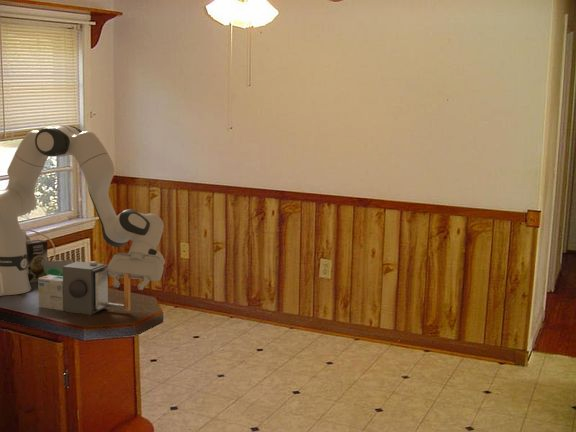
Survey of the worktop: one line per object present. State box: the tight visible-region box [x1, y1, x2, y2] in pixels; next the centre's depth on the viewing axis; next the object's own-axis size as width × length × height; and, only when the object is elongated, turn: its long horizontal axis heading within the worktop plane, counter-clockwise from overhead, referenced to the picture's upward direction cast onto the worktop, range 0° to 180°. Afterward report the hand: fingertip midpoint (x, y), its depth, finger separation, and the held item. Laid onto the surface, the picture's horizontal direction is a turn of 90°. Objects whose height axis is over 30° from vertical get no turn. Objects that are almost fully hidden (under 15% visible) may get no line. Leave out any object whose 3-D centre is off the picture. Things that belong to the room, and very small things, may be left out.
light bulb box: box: [37, 275, 64, 312], centre depth 265 cm, size 11×7×11 cm, turn 70°
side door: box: [95, 268, 131, 312], centre depth 259 cm, size 10×6×14 cm, turn 73°
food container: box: [41, 258, 74, 276], centre depth 296 cm, size 12×6×10 cm, turn 104°
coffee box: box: [26, 239, 48, 284], centre depth 301 cm, size 9×6×16 cm
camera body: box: [63, 260, 108, 316], centre depth 261 cm, size 12×11×17 cm
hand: (127, 287), depth 260 cm, fingers open, 8 cm apart
